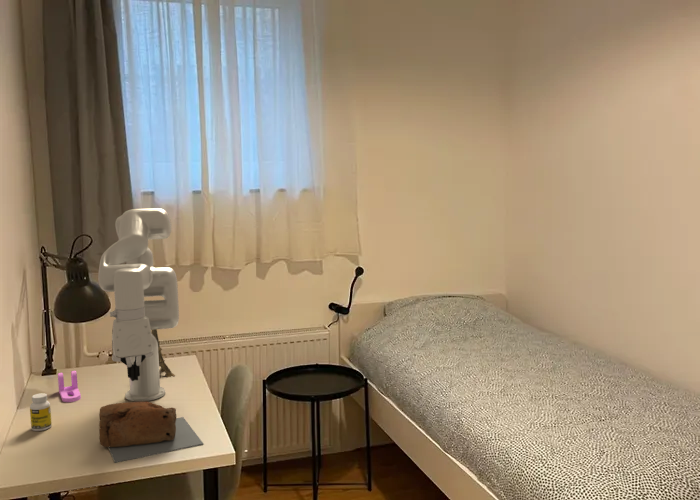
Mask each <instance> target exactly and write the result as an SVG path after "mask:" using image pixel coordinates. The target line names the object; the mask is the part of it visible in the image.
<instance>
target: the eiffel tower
mask: <svg viewBox="0 0 700 500" xmlns="http://www.w3.org/2000/svg"><path fill="white" fill-rule="evenodd" d="M151 334H152V335H153V336H154V337H155V338H156V340H157V343H158V356H159V371H161V372H164V374H165V375H164V376H165V377H166V378H172V377H171V376H173V377H175V376H176V375H175V374H174V373H172V371H171V369H170V368H169V367H168V365H167V364H166V363H165V361H166V360H165V359H164V357H163V355H162V354H163V353H162V350H163V348H162V347H161V346H160V345H161V344H160V341H159V334H158V329H155V330H151Z"/></svg>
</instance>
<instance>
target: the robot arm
mask: <svg viewBox="0 0 700 500" xmlns="http://www.w3.org/2000/svg"><path fill="white" fill-rule="evenodd" d="M115 231H116V235H117V238H118V240H117V241H116V242H114V243H112V244H111V245H110V246H109V247H108V248H107V249H106V250H105V251H104V252H103V253H102V255H101V257H100V260H99V268H98V274H97V276H98V277H97V279H98V285H99V287H100V289H101V290H102V291H105V292H109V293H112V292H114V294H113V295H114V310H112V311H110V312H109V317H113V318H115V319H113V320H112V321H113V322H112V332H111V348H112V349H111V350H112V356H111V359H112V361H113V362H118V363H122V364H123V365H125V366H126V367H127V368H126V369H127V378H129V390H127V391H126V392H125V395H124V398H125V399H126V400H128V401H129V402H151V401H154V400H157V399H159V398H162V397H163V396H165V395H166V389H165V387H162V386H161V380H160V379H161V377H160V376H161V375H160V366H159V356H158V343H157V340H156V338H155V337H154V336H153V335H152V334H151V330H155V329H157V330H166V329H167V330H168V329H174V328H176V327H177V326H178V324H179V319H180V311H179V310H180V308H179V307H180V305H179V289H178V286H179V285H178V278H177V277H178V276H177V274H176V271H175V270H174V268H172V267H167V266H164V267H163V266H162V267H161V266H159V267H154V254H153V250H151V248H150V247H149V240H162V239H163V240H165V239H168V238H169V237H170V235H171V233H172V222H171V217H170V216H169V214H168V211H167V210H165V209H163V208H159V207H157V208H155V207H154V208H133V209H129V210H126V211H124V212H123V213H122V215H120V216H118V217H117V218H116V219H115ZM125 263H126V264H125ZM151 297H161V298H163V299H154V300H152V299H151V300H145V298H151Z"/></svg>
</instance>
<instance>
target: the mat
mask: <svg viewBox="0 0 700 500" xmlns="http://www.w3.org/2000/svg"><path fill="white" fill-rule="evenodd" d="M175 424H176V433H175V437H174V439H173V440H170V441H167V440H164V441H162V442H156V443H149V444H141V445H131V446H123V447H107V448H108V450H109V453H110V456H111V457H112V460H113V462H114V463H115V464H117V463H121V462H127V461H131V460H136V459H141V458H145V457H151V456H156V455H160V454H164V453H165V454H166V453H169V452H173V451H179V450H184V449H188V448H193V447H197V446H198V447H199V446H203V445H204V442H203V441H202V440H201V438H200V437H199V436H198V434H197V433H196V432H195V430H194V429H193V428H192V427H191V425H190V424H189V422H188V421H187V420H186V419H185V418H184V416H181V417H176V423H175Z"/></svg>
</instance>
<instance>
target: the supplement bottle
mask: <svg viewBox="0 0 700 500" xmlns="http://www.w3.org/2000/svg"><path fill="white" fill-rule="evenodd" d="M31 402H32V403H30V405H29V412H30V413H29V414H30V427H31V430H32V431H34V432H39V431H40V432H41V431H45V430H49V429H50V428H51V427H52V412H51V411H52V409H51V403H50V401H48V394H47V393H44V392H43V393H35V394H33V395H31Z"/></svg>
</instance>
